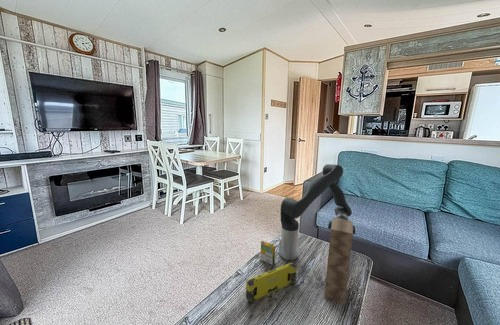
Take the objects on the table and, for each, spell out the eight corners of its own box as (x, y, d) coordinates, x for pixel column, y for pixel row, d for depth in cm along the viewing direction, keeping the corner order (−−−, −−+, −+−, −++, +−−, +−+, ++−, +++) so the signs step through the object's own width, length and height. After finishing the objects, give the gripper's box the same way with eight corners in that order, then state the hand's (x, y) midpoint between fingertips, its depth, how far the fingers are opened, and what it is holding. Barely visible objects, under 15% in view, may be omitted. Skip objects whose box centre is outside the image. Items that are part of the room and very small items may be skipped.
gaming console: (291, 278, 101) (292, 260, 100) (297, 284, 98) (298, 265, 96) (244, 299, 89) (244, 278, 87) (248, 306, 85) (249, 285, 84)
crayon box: (274, 261, 113) (275, 242, 111) (272, 265, 111) (273, 244, 109) (262, 257, 117) (263, 238, 115) (260, 260, 115) (260, 240, 112)
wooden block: (324, 297, 90) (330, 228, 85) (327, 279, 101) (333, 217, 95) (344, 304, 87) (352, 233, 81) (345, 285, 98) (352, 220, 92)
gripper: (330, 213, 133) (327, 224, 118) (355, 217, 127) (356, 229, 112) (329, 224, 134) (326, 236, 120) (354, 229, 128) (354, 242, 114)
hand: (340, 233), depth 116 cm, fingers open, 8 cm apart
